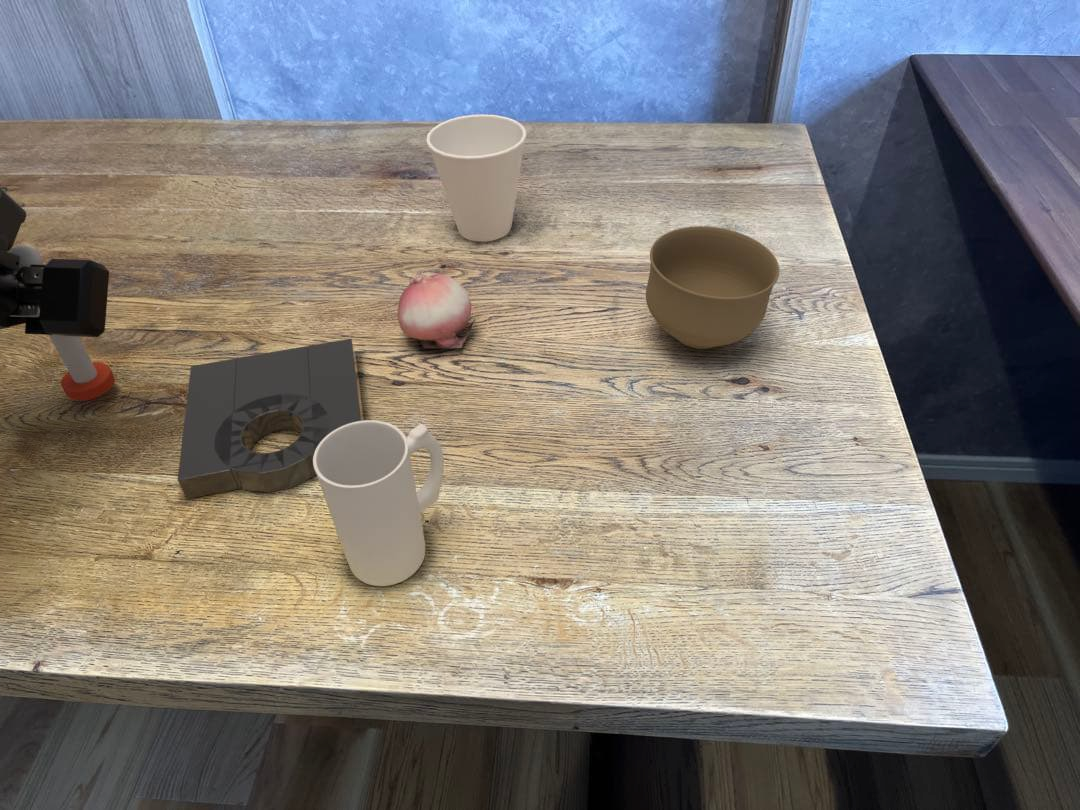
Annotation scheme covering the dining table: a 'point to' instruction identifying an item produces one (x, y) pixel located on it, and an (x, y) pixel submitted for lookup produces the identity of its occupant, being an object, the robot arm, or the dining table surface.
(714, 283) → the bowl
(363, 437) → the mug
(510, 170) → the cup
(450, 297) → the onion
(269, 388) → the sink board
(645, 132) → the dining table surface
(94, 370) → the stopper
